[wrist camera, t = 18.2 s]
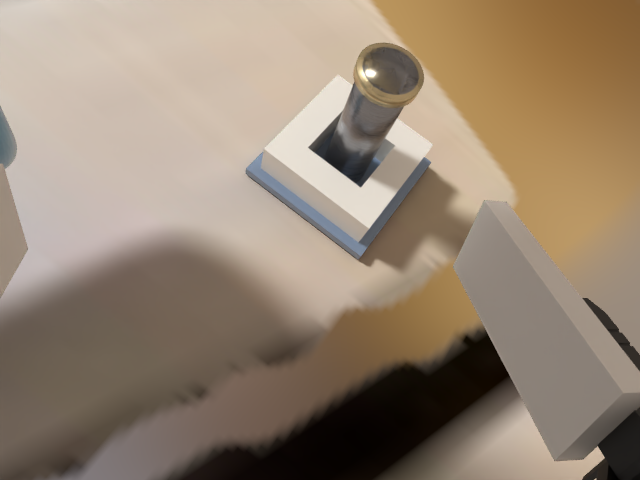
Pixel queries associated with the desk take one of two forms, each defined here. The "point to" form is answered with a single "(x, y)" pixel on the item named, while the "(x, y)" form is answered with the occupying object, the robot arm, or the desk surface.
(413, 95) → the grey metal peg
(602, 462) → the robot arm
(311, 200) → the socket block
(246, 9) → the desk surface
